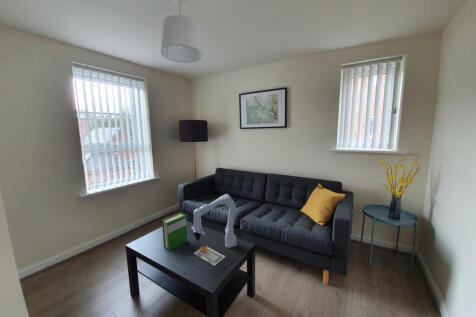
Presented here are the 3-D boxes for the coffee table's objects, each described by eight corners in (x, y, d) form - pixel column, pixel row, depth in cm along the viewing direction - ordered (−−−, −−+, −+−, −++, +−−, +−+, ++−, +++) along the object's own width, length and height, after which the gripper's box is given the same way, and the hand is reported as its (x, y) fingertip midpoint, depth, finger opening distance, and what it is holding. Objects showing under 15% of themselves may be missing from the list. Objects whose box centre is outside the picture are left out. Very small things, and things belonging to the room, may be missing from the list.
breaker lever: (204, 249, 151) (204, 243, 150) (207, 251, 149) (207, 245, 148) (200, 252, 147) (200, 246, 147) (203, 253, 146) (203, 247, 145)
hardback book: (168, 251, 151) (167, 222, 148) (163, 247, 156) (162, 220, 152) (187, 240, 165) (186, 214, 161) (182, 237, 170) (180, 212, 166)
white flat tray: (205, 247, 156) (205, 244, 156) (225, 258, 143) (225, 255, 143) (193, 255, 147) (193, 252, 146) (214, 267, 134) (214, 264, 133)
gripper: (187, 223, 150) (188, 239, 152) (199, 229, 141) (200, 246, 143) (194, 220, 155) (195, 235, 158) (206, 225, 147) (207, 241, 149)
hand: (198, 240), depth 151 cm, fingers closed
